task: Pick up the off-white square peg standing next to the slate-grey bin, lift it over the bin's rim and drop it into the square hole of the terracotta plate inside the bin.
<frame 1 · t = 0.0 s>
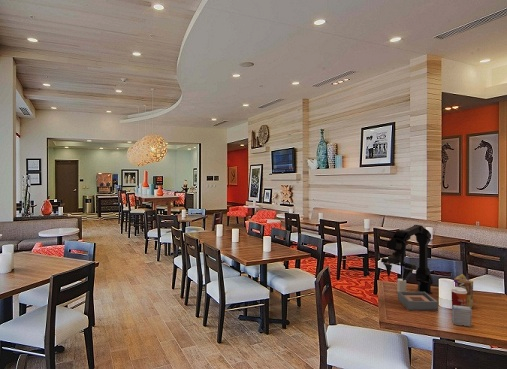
hand: (395, 278, 200), 15 cm above the table, tool pointing down, fingers open, 9 cm apart
peg: (401, 293, 219), on the table
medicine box: (461, 324, 176), on the table
chocolate bunny: (461, 298, 211), on the table
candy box: (462, 306, 199), on the table
paper cup: (458, 314, 188), on the table
bin: (417, 304, 201), on the table
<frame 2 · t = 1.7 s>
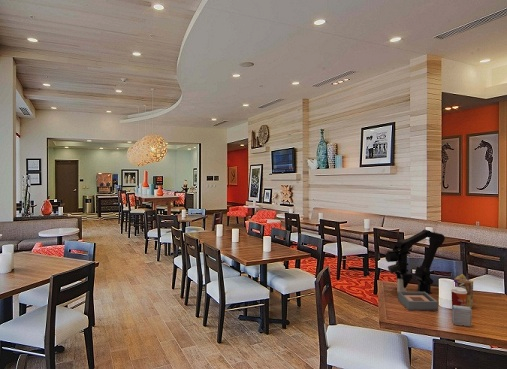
hand: (401, 285, 218), 5 cm above the table, tool pointing down, fingers open, 9 cm apart
nothing on the table moved.
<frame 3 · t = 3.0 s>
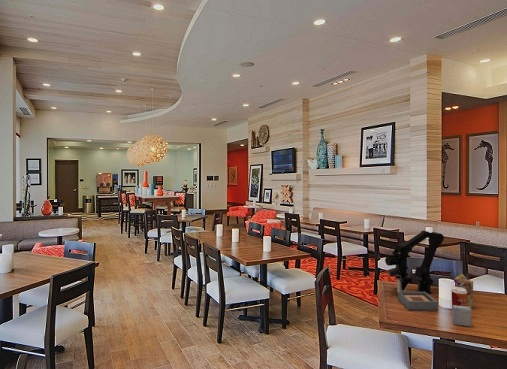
hand: (401, 289, 218), 3 cm above the table, tool pointing down, fingers closed on peg, 4 cm apart
peg: (401, 293, 219), on the table, touching gripper
everything else where it was.
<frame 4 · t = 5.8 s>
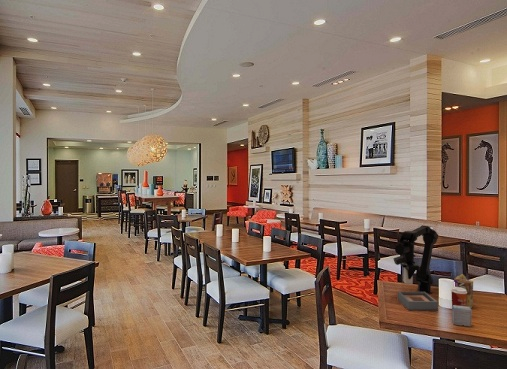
hand: (408, 277, 210), 13 cm above the table, tool pointing down, fingers closed on peg, 4 cm apart
peg: (407, 282, 210), point 10 cm above the table, touching gripper
everything else where it was.
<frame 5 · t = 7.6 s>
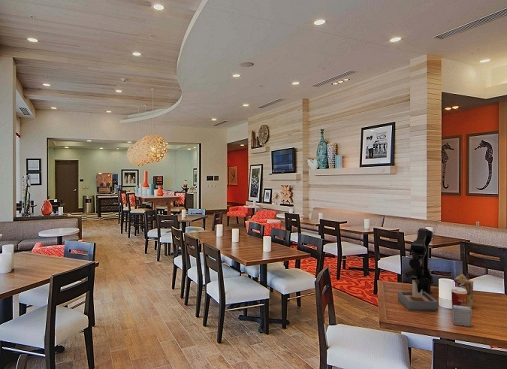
hand: (417, 291, 200), 8 cm above the table, tool pointing down, fingers closed on peg, 4 cm apart
peg: (417, 296, 200), point 5 cm above the table, touching gripper
everything else where it was.
when the fingers open (5 cm above the table, at t = 8.9 s): peg drops 1 cm, resting on bin.
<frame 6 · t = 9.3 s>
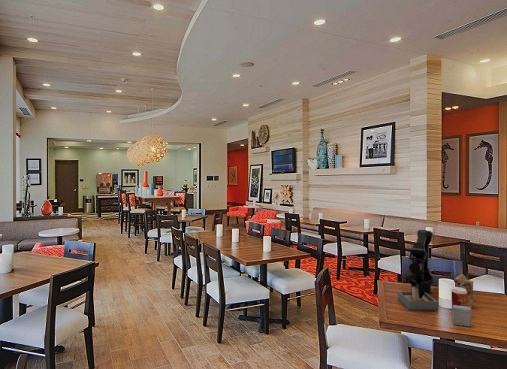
hand: (417, 295, 200), 5 cm above the table, tool pointing down, fingers open, 8 cm apart
peg: (416, 303, 201), point 1 cm above the table, touching bin
everything else where it was.
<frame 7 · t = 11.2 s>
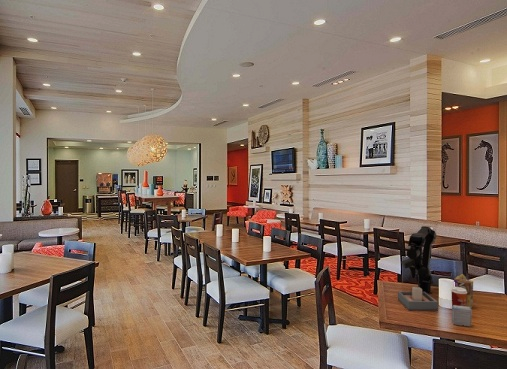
hand: (416, 280, 208), 12 cm above the table, tool pointing down, fingers open, 9 cm apart
nothing on the table moved.
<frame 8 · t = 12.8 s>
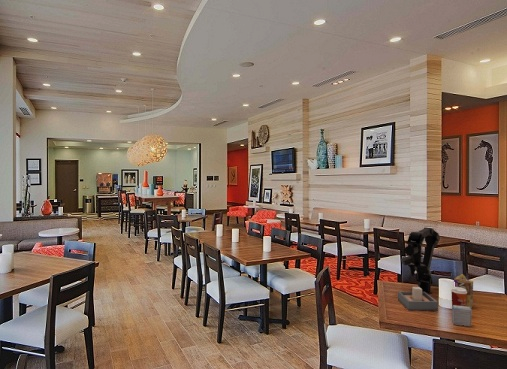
hand: (415, 278, 212), 12 cm above the table, tool pointing down, fingers open, 9 cm apart
nothing on the table moved.
at the end: peg 0.1 cm off-centre on the bin, point 1.0 cm above the bin's base; peg tilted 0°; the gripper is holding nothing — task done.
